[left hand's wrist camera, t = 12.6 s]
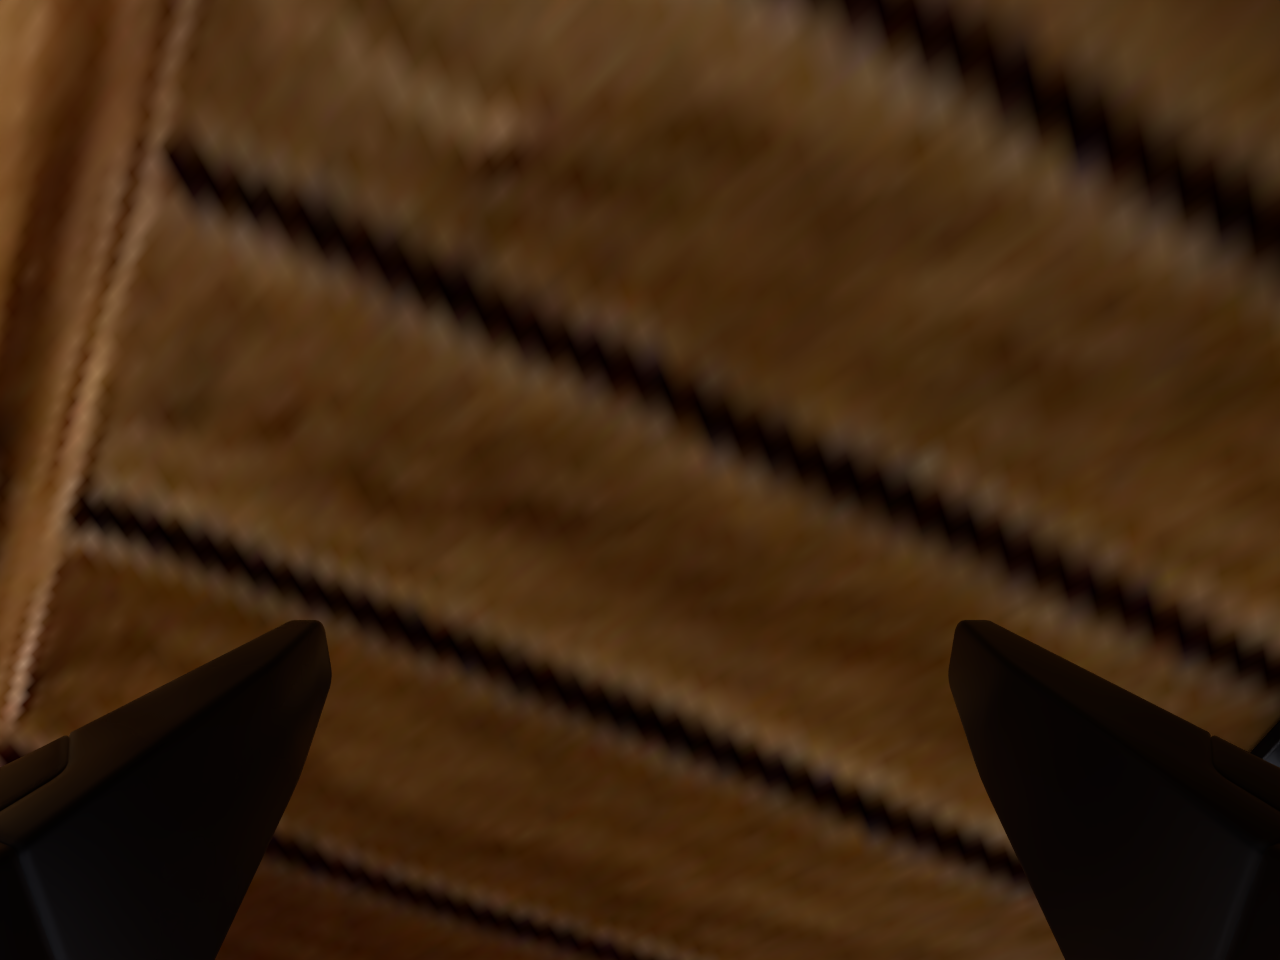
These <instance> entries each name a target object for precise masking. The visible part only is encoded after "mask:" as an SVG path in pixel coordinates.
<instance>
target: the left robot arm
mask: <svg viewBox="0 0 1280 960" xmlns="http://www.w3.org/2000/svg"><path fill="white" fill-rule="evenodd" d="M331 676H332V674H331V664H330V658H329V652H328V646H327V640H326V634H325V629H324V627H323V625H322V623H321V622H319V621H317V620H293V621H289V622H287V623H285V624H283V625H281V626H279V627H277V628H275V629H273V630H271V631H269V632H267V633H265V634H263V635H261V636H260V637H258V638H256V639H254V640H252V641H250V642H248V643H246V644H244V645H242V646H240V647H238V648H236V649H234V650H232V651H230V652H228V653H226V654H224V655H222V656H220V657H218V658H216V659H214V660H212V661H210V662H208V663H206V664H204V665H203V666H201V667H199V668H197V669H195V670H193V671H191V672H189V673H187V674H185V675H183V676H181V677H179V678H177V679H175V680H173V681H171V682H169V683H167V684H165V685H163V686H161V687H159V688H157V689H155V690H153V691H151V692H149V693H148V694H146V695H144V696H142V697H140V698H138V699H136V700H134V701H132V702H130V703H128V704H126V705H124V706H122V707H120V708H118V709H116V710H114V711H112V712H110V713H108V714H106V715H104V716H102V717H100V718H98V719H96V720H94V721H92V722H91V723H89V724H87V725H85V726H83V727H81V728H79V729H77V730H75V731H73V732H71V733H70V735H69V737H68V736H63V737H61V738H59V739H57V740H55V741H53V742H51V743H49V744H47V745H45V746H43V747H41V748H39V749H37V750H35V751H33V752H31V753H29V754H27V755H25V756H23V757H21V758H19V759H17V760H15V761H13V762H11V763H9V764H7V765H5V766H3V767H1V768H0V960H215V958H216V956H217V954H218V952H219V949H220V947H221V945H222V943H223V941H224V939H225V937H226V934H227V932H228V930H229V928H230V926H231V924H232V922H233V920H234V917H235V915H236V913H237V911H238V909H239V907H240V905H241V902H242V900H243V898H244V896H245V894H246V892H247V890H248V888H249V885H250V883H251V881H252V879H253V877H254V875H255V873H256V870H257V868H258V866H259V864H260V862H261V860H262V858H263V856H264V853H265V851H266V849H267V847H268V845H269V843H270V841H271V838H272V836H273V834H274V832H275V830H276V828H277V826H278V824H279V821H280V819H281V817H282V815H283V813H284V811H285V809H286V806H287V804H288V802H289V800H290V798H291V796H292V794H293V791H294V789H295V787H296V784H297V782H298V780H299V777H300V775H301V772H302V769H303V767H304V764H305V761H306V758H307V755H308V752H309V749H310V746H311V743H312V740H313V737H314V734H315V731H316V728H317V725H318V722H319V719H320V716H321V713H322V710H323V706H324V703H325V700H326V697H327V694H328V691H329V688H330V684H331ZM948 676H949V684H950V688H951V691H952V694H953V697H954V700H955V703H956V707H957V710H958V713H959V716H960V719H961V722H962V725H963V728H964V731H965V734H966V737H967V740H968V743H969V746H970V749H971V752H972V755H973V758H974V761H975V764H976V767H977V769H978V772H979V775H980V777H981V780H982V782H983V784H984V787H985V789H986V791H987V794H988V796H989V798H990V800H991V802H992V804H993V806H994V809H995V811H996V813H997V815H998V817H999V819H1000V821H1001V824H1002V826H1003V828H1004V830H1005V832H1006V834H1007V836H1008V838H1009V841H1010V843H1011V845H1012V847H1013V849H1014V851H1015V853H1016V856H1017V858H1018V860H1019V862H1020V864H1021V866H1022V868H1023V870H1024V873H1025V875H1026V877H1027V879H1028V881H1029V883H1030V885H1031V888H1032V890H1033V892H1034V894H1035V896H1036V898H1037V900H1038V902H1039V905H1040V907H1041V909H1042V911H1043V913H1044V915H1045V917H1046V920H1047V922H1048V924H1049V926H1050V928H1051V930H1052V932H1053V934H1054V937H1055V939H1056V941H1057V943H1058V945H1059V947H1060V949H1061V952H1062V954H1063V956H1064V958H1065V960H1280V721H1279V722H1278V723H1277V724H1276V725H1275V727H1274V728H1273V729H1272V730H1271V731H1270V732H1269V733H1268V734H1267V735H1266V736H1265V738H1264V739H1263V740H1262V741H1261V742H1260V743H1259V744H1258V745H1257V746H1256V747H1255V748H1254V750H1253V751H1252V752H1251V753H1249V752H1247V751H1245V750H1243V749H1241V748H1239V747H1237V746H1235V745H1233V744H1231V743H1229V742H1227V741H1225V740H1223V739H1221V738H1219V737H1217V736H1212V737H1211V736H1210V733H1209V732H1207V731H1205V730H1203V729H1201V728H1199V727H1197V726H1195V725H1193V724H1192V723H1190V722H1188V721H1186V720H1184V719H1182V718H1180V717H1178V716H1176V715H1174V714H1172V713H1170V712H1168V711H1166V710H1164V709H1162V708H1160V707H1158V706H1156V705H1154V704H1152V703H1150V702H1148V701H1146V700H1144V699H1142V698H1140V697H1138V696H1136V695H1134V694H1132V693H1131V692H1129V691H1127V690H1125V689H1123V688H1121V687H1119V686H1117V685H1115V684H1113V683H1111V682H1109V681H1107V680H1105V679H1103V678H1101V677H1099V676H1097V675H1095V674H1093V673H1091V672H1089V671H1087V670H1085V669H1083V668H1081V667H1079V666H1077V665H1076V664H1074V663H1072V662H1070V661H1068V660H1066V659H1064V658H1062V657H1060V656H1058V655H1056V654H1054V653H1052V652H1050V651H1048V650H1046V649H1044V648H1042V647H1040V646H1038V645H1036V644H1034V643H1032V642H1030V641H1028V640H1026V639H1024V638H1022V637H1020V636H1019V635H1017V634H1015V633H1013V632H1011V631H1009V630H1007V629H1005V628H1003V627H1001V626H999V625H997V624H995V623H993V622H991V621H987V620H963V621H961V622H959V623H958V625H957V627H956V629H955V634H954V640H953V646H952V652H951V658H950V664H949V674H948Z"/></svg>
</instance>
